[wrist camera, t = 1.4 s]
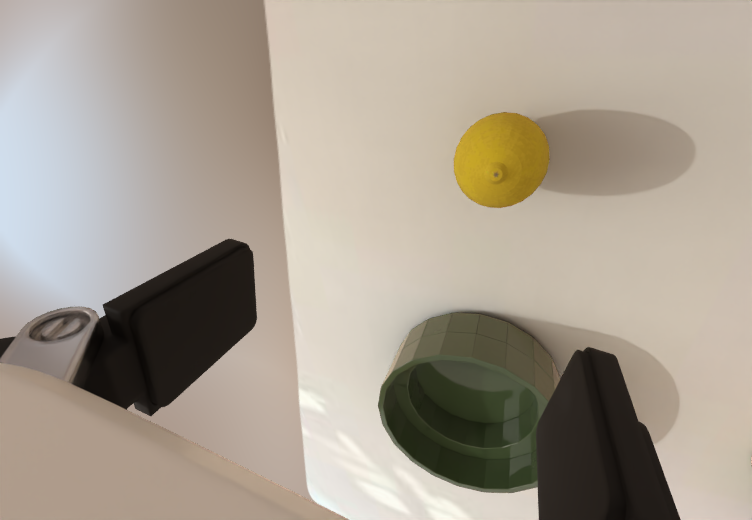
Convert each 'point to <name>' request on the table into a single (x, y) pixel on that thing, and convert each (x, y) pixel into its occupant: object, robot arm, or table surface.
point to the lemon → (501, 160)
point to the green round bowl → (469, 401)
